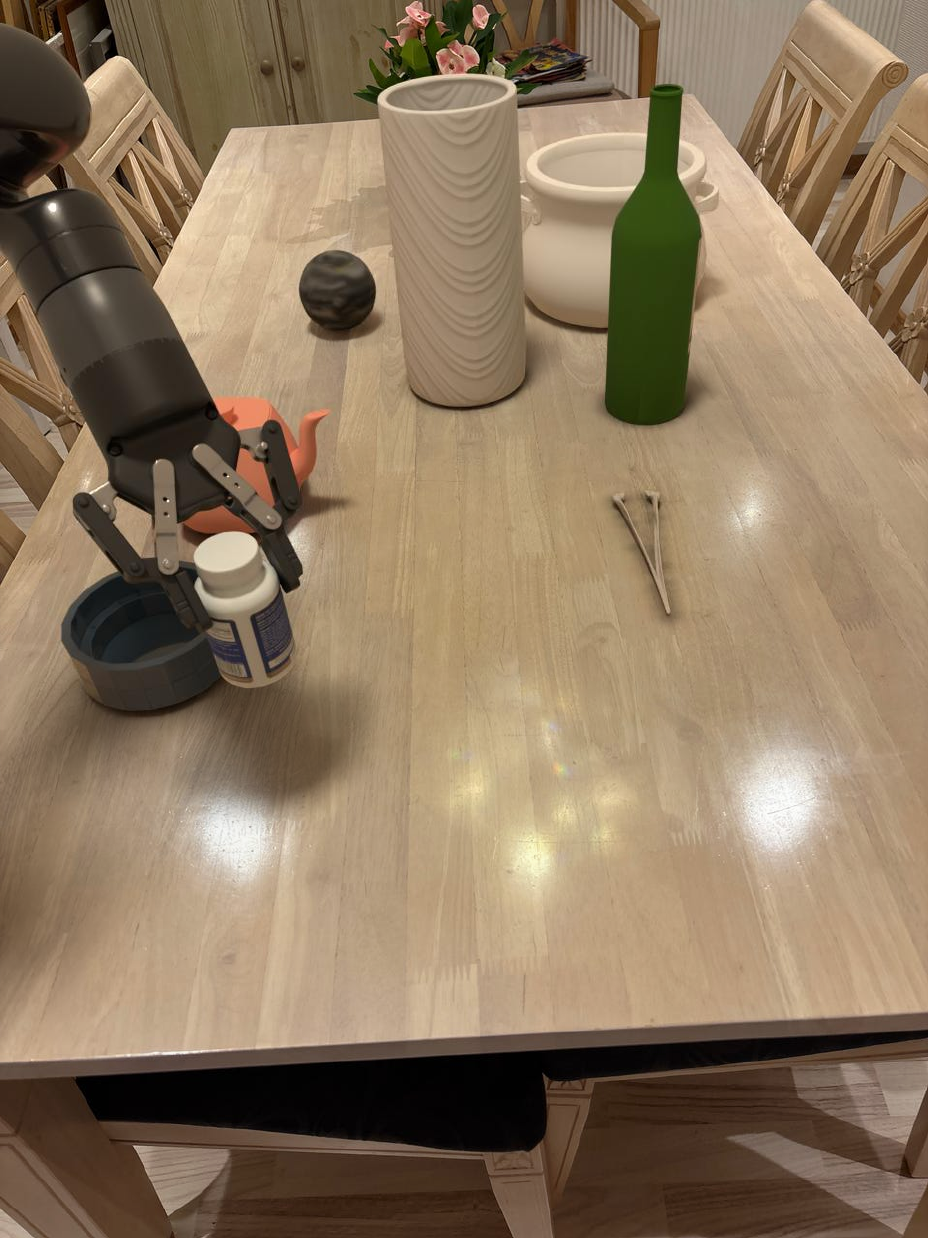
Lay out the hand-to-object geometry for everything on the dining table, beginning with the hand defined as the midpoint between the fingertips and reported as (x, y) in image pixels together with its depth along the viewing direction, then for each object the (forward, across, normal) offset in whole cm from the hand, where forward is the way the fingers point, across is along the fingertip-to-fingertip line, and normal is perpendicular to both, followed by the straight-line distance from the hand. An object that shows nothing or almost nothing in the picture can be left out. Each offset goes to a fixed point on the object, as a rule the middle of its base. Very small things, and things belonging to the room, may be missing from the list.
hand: (250, 607), depth 61 cm
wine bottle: (-4, +57, +30) cm, 64 cm away
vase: (-17, +45, +43) cm, 64 cm away
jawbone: (+10, +39, +16) cm, 43 cm away
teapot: (-12, +13, +38) cm, 42 cm away
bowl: (-1, -3, +27) cm, 27 cm away
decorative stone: (-33, +40, +59) cm, 79 cm away
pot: (-21, +73, +48) cm, 89 cm away
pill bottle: (+3, 0, +6) cm, 7 cm away
